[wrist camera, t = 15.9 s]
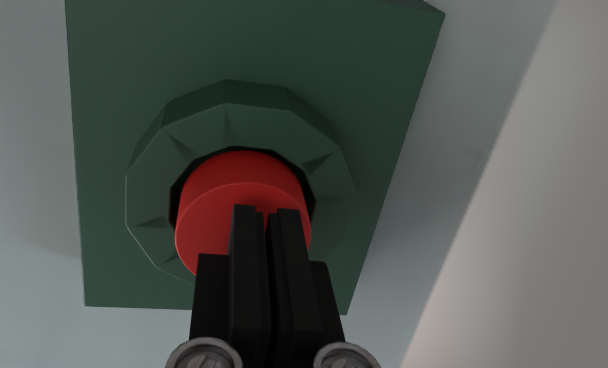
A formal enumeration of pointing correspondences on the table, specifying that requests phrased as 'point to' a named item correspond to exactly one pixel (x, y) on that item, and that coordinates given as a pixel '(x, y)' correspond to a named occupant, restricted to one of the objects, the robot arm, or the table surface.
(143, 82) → the button box
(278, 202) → the button
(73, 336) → the table surface
